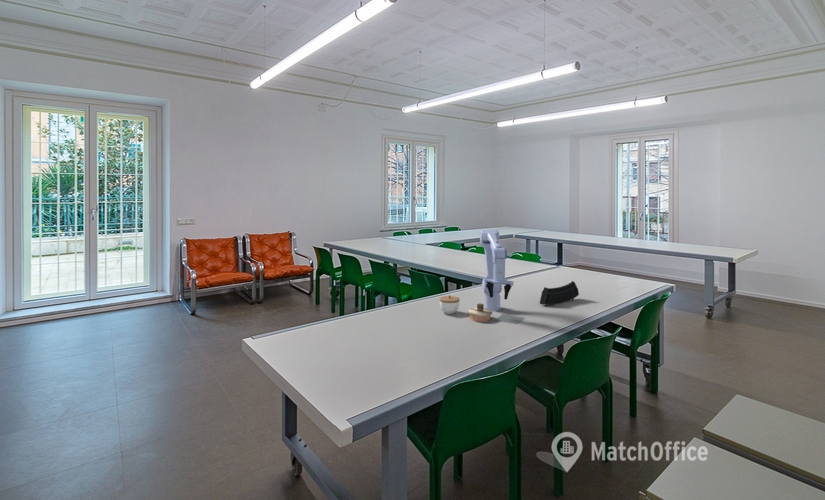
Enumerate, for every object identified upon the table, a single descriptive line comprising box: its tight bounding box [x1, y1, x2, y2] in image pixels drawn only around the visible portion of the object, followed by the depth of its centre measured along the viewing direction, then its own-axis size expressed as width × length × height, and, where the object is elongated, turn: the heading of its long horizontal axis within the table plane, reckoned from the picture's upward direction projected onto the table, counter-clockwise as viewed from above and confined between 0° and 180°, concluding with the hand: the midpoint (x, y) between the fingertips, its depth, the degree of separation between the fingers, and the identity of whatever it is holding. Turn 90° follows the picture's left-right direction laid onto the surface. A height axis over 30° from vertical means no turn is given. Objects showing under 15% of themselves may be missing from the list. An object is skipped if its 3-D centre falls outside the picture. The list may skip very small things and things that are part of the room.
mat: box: [494, 313, 526, 325], centre depth 215 cm, size 12×12×1 cm
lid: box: [467, 303, 493, 316], centre depth 216 cm, size 12×12×4 cm
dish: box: [469, 314, 491, 323], centre depth 216 cm, size 10×10×4 cm
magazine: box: [539, 280, 580, 306], centre depth 247 cm, size 17×3×30 cm
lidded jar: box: [439, 294, 460, 315], centre depth 228 cm, size 11×11×9 cm
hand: (498, 298), depth 217 cm, fingers open, 7 cm apart
